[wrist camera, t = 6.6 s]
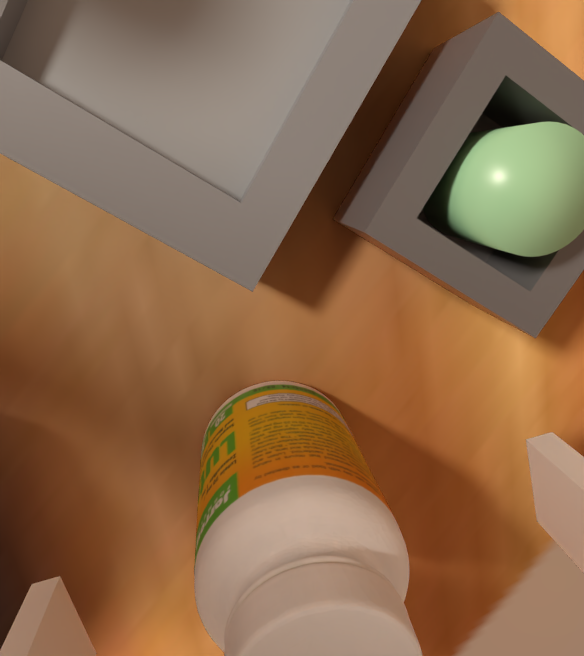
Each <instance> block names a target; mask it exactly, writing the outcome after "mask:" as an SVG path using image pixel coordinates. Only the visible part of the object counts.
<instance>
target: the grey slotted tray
mask: <svg viewBox="0 0 584 656" xmlns="http://www.w3.org/2000/svg"><path fill="white" fill-rule="evenodd" d="M420 2H421V0H0V154H2V155H4V156H6V157H8V158H10V159H11V160H13V161H15V162H17V163H19V164H20V165H22V166H24V167H26V168H28V169H30V170H31V171H33V172H35V173H37V174H39V175H41V176H42V177H44V178H46V179H48V180H50V181H51V182H53V183H55V184H57V185H59V186H61V187H62V188H64V189H66V190H68V191H70V192H72V193H73V194H75V195H77V196H79V197H81V198H82V199H84V200H86V201H88V202H90V203H92V204H93V205H95V206H97V207H99V208H101V209H103V210H104V211H106V212H108V213H110V214H112V215H114V216H115V217H117V218H119V219H121V220H123V221H124V222H126V223H128V224H130V225H132V226H134V227H135V228H137V229H139V230H141V231H143V232H145V233H146V234H148V235H150V236H152V237H154V238H155V239H157V240H159V241H161V242H163V243H165V244H166V245H168V246H170V247H172V248H174V249H176V250H177V251H179V252H181V253H183V254H185V255H186V256H188V257H190V258H192V259H194V260H196V261H197V262H199V263H201V264H203V265H205V266H207V267H208V268H210V269H212V270H214V271H216V272H217V273H219V274H221V275H223V276H225V277H227V278H228V279H230V280H232V281H234V282H236V283H238V284H239V285H241V286H243V287H245V288H247V289H249V290H250V291H252V292H253V290H254V288H255V287H256V285H257V283H258V281H259V280H260V278H261V276H262V275H263V273H264V271H265V269H266V268H267V266H268V264H269V262H270V261H271V259H272V257H273V256H274V254H275V252H276V250H277V249H278V247H279V245H280V243H281V242H282V240H283V238H284V237H285V235H286V233H287V231H288V230H289V228H290V226H291V224H292V223H293V221H294V219H295V218H296V216H297V214H298V212H299V211H300V209H301V207H302V205H303V204H304V202H305V200H306V199H307V197H308V195H309V193H310V192H311V190H312V188H313V186H314V185H315V183H316V181H317V180H318V178H319V176H320V174H321V173H322V171H323V169H324V167H325V166H326V164H327V162H328V161H329V159H330V157H331V155H332V154H333V152H334V150H335V148H336V147H337V145H338V143H339V142H340V140H341V138H342V136H343V135H344V133H345V131H346V129H347V128H348V126H349V124H350V123H351V121H352V119H353V117H354V116H355V114H356V112H357V110H358V109H359V107H360V105H361V104H362V102H363V100H364V98H365V97H366V95H367V93H368V91H369V90H370V88H371V86H372V85H373V83H374V81H375V79H376V78H377V76H378V74H379V72H380V71H381V69H382V67H383V66H384V64H385V62H386V60H387V59H388V57H389V55H390V53H391V52H392V50H393V48H394V47H395V45H396V43H397V41H398V40H399V38H400V36H401V34H402V33H403V31H404V29H405V28H406V26H407V24H408V22H409V21H410V19H411V17H412V15H413V14H414V12H415V10H416V9H417V7H418V5H419V3H420Z"/></svg>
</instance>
